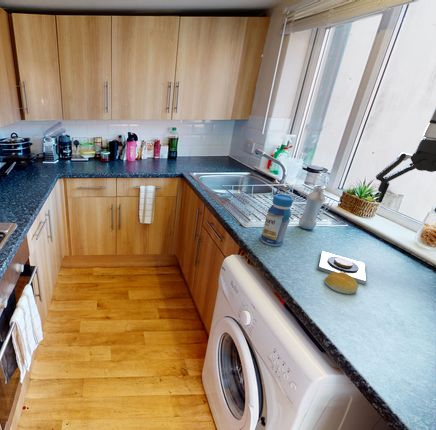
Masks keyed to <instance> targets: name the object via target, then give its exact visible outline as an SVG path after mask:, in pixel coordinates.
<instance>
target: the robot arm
mask: <svg viewBox="0 0 436 430" xmlns="http://www.w3.org/2000/svg"><path fill="white" fill-rule="evenodd" d="M422 136H423V138H422V139H420V141H419V143H418V145H417V147H416V150H415V152H413V154H410V153H405V151H402V152H400V153H398V156H397V157H396V159H394V160H393V161H392V162H391V163H390V164H388V165H387V166H386V167H385V168H384V169H382V170H381V171H379V173H378V174H376V175H375V179H376V180H377V181H379V182H380V183H379V186H378V188H377V191H378V193H380V194H379V195H378V197H377V202H378V203H380V204H381V203H382V202H383V199H384V198H385V195H386V193H387V191H388V189H389V187H390V182H391V181H393V180H395V179H397V178H399V177H401V176H403V175H405V174H406V173H408V172H410V171H413V170H415V169H416V170H417V171H421V172H424V171H426V172H429V173H434V172H436V107H435V108H434V111H433V113H432V115H431V117H430V119H429V123H428V124H427V126H426V128H425V130H424V133H423V134H422ZM409 159H410V161H411V163H408V164H407V165H406V166H404V167H401V168H400V169H398V170H396V171H394V172H392V171H393V170H394V169H395V168H397V167H398V166H399V165H400V164H401V163H402V162H404V161H407V160H409ZM390 172H392V173H390ZM389 173H390V174H389ZM433 211H434V213H435V214H436V207H435V208H434V209H433Z"/></svg>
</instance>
